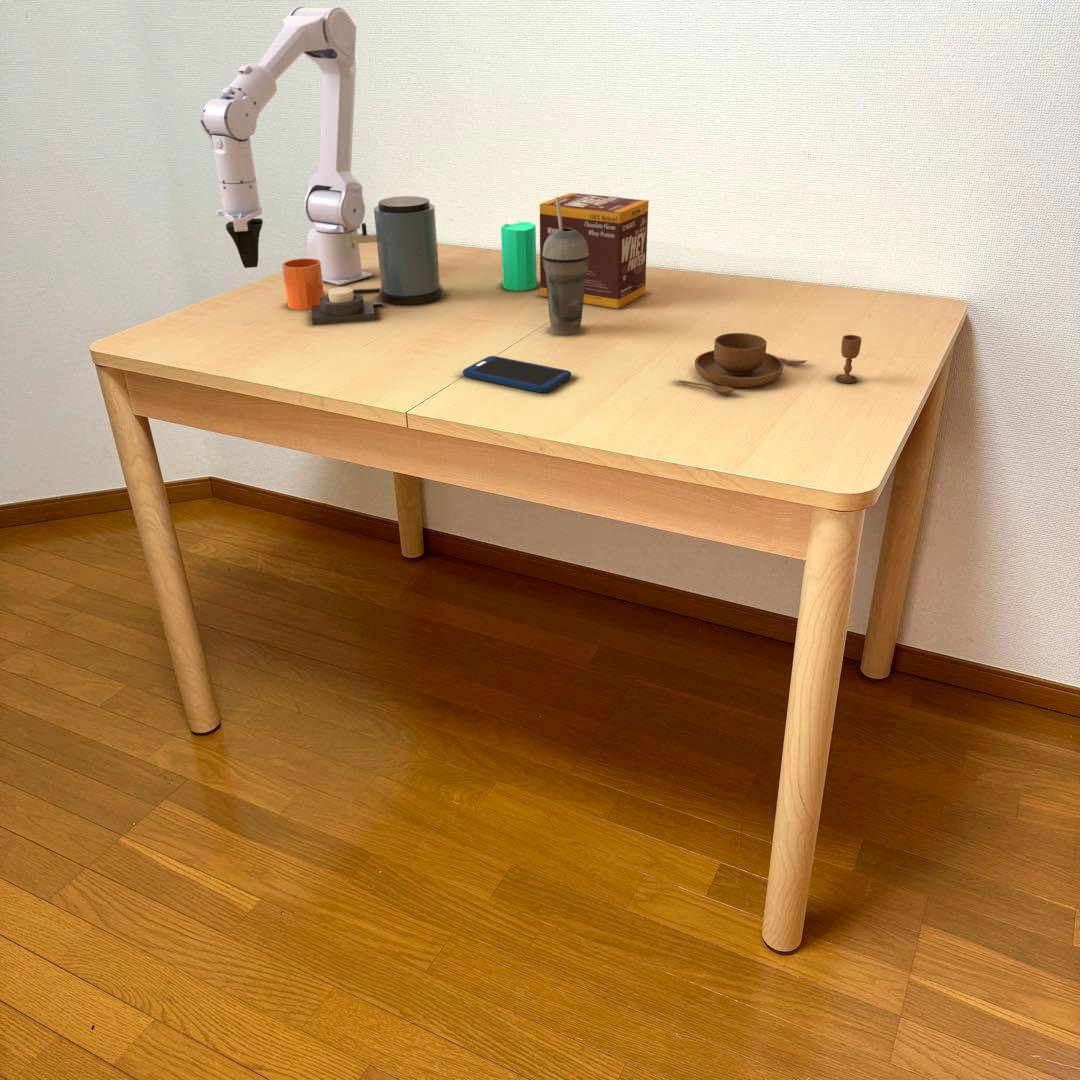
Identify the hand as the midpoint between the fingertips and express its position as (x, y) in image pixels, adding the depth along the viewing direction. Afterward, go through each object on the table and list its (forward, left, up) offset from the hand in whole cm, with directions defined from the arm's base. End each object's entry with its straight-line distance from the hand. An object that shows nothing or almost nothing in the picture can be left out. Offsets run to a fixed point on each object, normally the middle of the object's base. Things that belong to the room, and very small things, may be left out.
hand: (251, 266), depth 168 cm
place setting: (+84, +20, -7) cm, 87 cm away
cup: (+5, +6, -7) cm, 11 cm away
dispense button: (+16, +5, -4) cm, 17 cm away
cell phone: (+56, +1, -7) cm, 57 cm away
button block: (+16, +5, -7) cm, 18 cm away
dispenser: (+14, +17, -7) cm, 23 cm away
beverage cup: (+49, +21, -7) cm, 54 cm away
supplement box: (+41, +39, -7) cm, 57 cm away
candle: (+27, +36, -7) cm, 46 cm away
